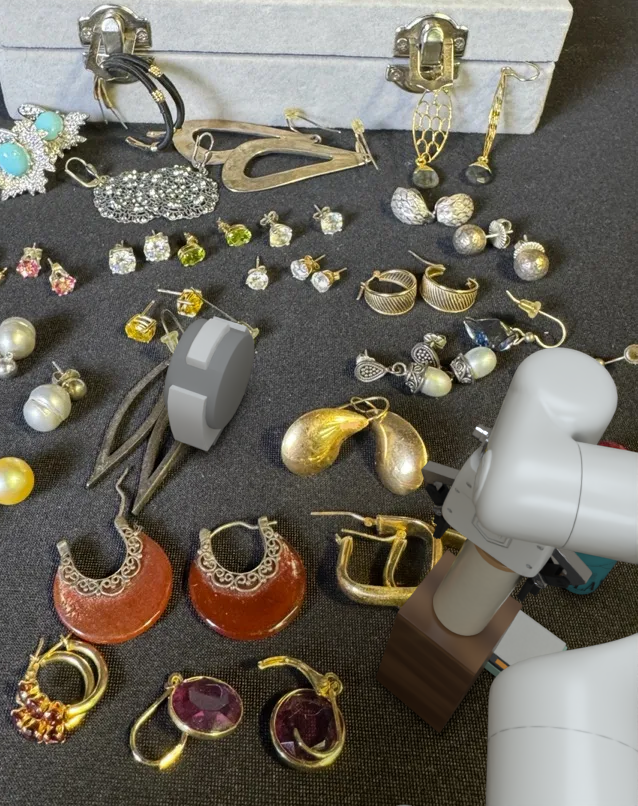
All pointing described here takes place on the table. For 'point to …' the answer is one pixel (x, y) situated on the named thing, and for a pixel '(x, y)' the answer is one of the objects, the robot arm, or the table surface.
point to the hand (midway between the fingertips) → (484, 558)
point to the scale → (523, 644)
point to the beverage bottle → (593, 572)
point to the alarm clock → (207, 379)
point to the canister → (473, 590)
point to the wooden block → (437, 652)
